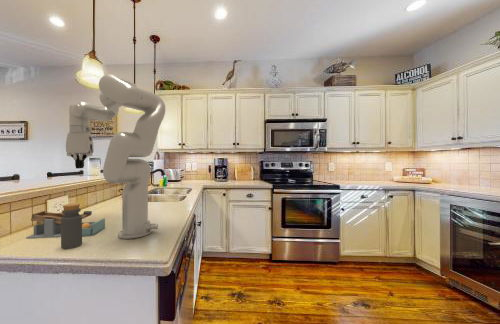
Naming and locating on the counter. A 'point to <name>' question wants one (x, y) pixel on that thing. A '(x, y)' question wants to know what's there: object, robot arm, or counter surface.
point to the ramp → (53, 216)
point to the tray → (93, 227)
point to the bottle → (71, 226)
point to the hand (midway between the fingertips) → (79, 168)
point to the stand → (46, 230)
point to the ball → (85, 225)
